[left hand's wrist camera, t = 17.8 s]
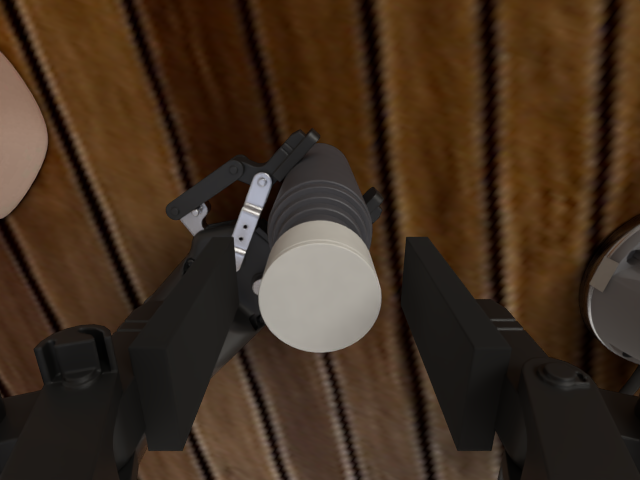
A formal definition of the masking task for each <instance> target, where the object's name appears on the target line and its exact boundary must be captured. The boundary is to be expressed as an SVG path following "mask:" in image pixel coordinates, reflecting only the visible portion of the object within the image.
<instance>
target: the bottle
mask: <svg viewBox="0 0 640 480" xmlns="http://www.w3.org/2000/svg"><path fill="white" fill-rule="evenodd" d="M309 221H330V222H335V223H338V224H341V225H343V226H345V227H347V228H349V229H350V230H352V231H353V232H354V233H356V234H357V235H358V236H359V237H360V238H361V239H362V241H363V242H364V243H365V245H366V247H367V248H368V250H369V249H370V245H371V239H372V221H371V217H370V213H369V211H368V208H367V206H366V204H365V201H364V199H363V196H362V194H361V192H360V189H359V187H358V185H357V182H356V180H355V178H354V175H353V173H352V171H351V168H350V166H349V163H348V161H347V159H346V157H345V156H344V155H343V153H342V152H341V151H339V150H338V149H337V148H335V147H333V146H331V145H328V144H323V143H316V144H314V145H313V146H312V148H311V149H310V150H309V151H308V152H307V153H306V154H305V155H304V156H303V158H302V159H301V160H300V161H299V162H298V163H297V164H296V165H295V166H294V167H293V168H292V169H291V171H290V172H289V173H288V174H287V175H286V177H285V179H284V181H283V184H282V186H281V189H280V191H279V193H278V196H277V198H276V200H275V203H274V205H273V207H272V210H271V212H270V215H269V219H268V225H267V233H268V242H269V247H270V250H272V247H273V246H274V244H275V243H276V241H277V240H278V239H279V238H280V237H281V236H282V235H283V234H284V233H285V232H286V231H288V230H289V229H291V228H293V227H294V226H296V225H299V224H302V223H305V222H309Z"/></svg>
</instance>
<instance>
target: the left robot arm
mask: <svg viewBox="0 0 640 480" xmlns="http://www.w3.org/2000/svg"><path fill="white" fill-rule="evenodd" d="M579 304H580V311H581V315H582V318H583V320H584V323H585V325H586V326H587V328H588V329H589V331H590V332H591V333H592V334H593V335H594V336H595V337H596V338H597V339H598V340H599V341H600V342H601V343H603V344H604V345H605V346H606V347H607V348H608V349H609V350H611V351H612V352H614V353H615V354H617V355H619V356H621V357H623V358H625V359H627V360H629V361H631V362H634V363H636V364H639V366H638V367H637V369H636V370H635V372H634V373H633V374H632V376H631V377H630V379H629V380H628V382H627V383H626V384H625V385H624V386H623V388H622V389H621V390H620V391H619V392H613V391H608V390H604V389H600V388H598V387H597V385H596V384H595V382H594V381H593V380H592V379H591V377H590V376H589V375H588V374H586V373H585V372H584V371H582V370H581V369H579V368H578V367H576V366H574V365H572V364H569V363H567V362H565V361H562V360H558V359H554V358H549V357H548V356H547V355H546V354H545V352H544V351H543V350H542V349H541V348H540V347H539V346H538V344H537V343H536V342H535V341H534V340H533V339H532V338H531V336H530V335H529V334H528V333H527V332H526V331H525V330H523V327H522V326H521V325H520V324H519V323H518V322H517V321H515V318H514V317H513V316H512V315H511V314H510V312H509V311H508V310H507V309H506V308H504V307H503V306H501V305H499V304H498V303H496V302H494V301H493V300H491V299H474V298H473V296H472V295H471V294H470V292H469V291H468V290H467V288H466V287H465V286H464V284H463V283H462V282H461V280H460V279H459V278H458V277H457V275H456V274H455V273H454V271H453V270H452V269H451V267H450V266H449V265H448V263H447V262H446V261H445V259H444V258H443V257H442V255H441V254H440V253H439V252H438V250H437V249H436V248H435V246H434V245H433V244H432V242H431V241H430V240H429V238H428V237H406V246H405V259H404V271H403V283H402V296H401V306H402V309H403V311H404V314H405V316H406V319H407V322H408V324H409V327H410V329H411V332H412V334H413V337H414V340H415V342H416V345H417V347H418V350H419V353H420V355H421V358H422V360H423V363H424V365H425V368H426V371H427V373H428V376H429V378H430V381H431V383H432V386H433V389H434V391H435V394H436V396H437V399H438V402H439V404H440V407H441V409H442V412H443V414H444V417H445V420H446V422H447V425H448V427H449V430H450V433H451V435H452V438H453V440H454V443H455V445H456V448H457V451H491V450H492V445H493V440H494V435H495V430H496V432H497V434H498V436H499V438H500V440H501V442H502V443H503V445H504V447H505V448H504V453H503V457H502V462H501V467H500V471H499V476H498V480H640V394H639V397H637V396H633V395H634V393H635V392H636V391H637V390H638V389H639V387H640V215H638V216H636V217H635V218H633V219H631V220H630V221H628V222H627V223H625V224H624V225H623V226H621V227H620V228H619V229H617V230H616V231H615V232H614V233H613V234H612V235H611V236H610V237H609V238H608V239H607V240H606V241H605V242H604V243H603V244H602V245H601V246H600V248H599V249H598V250H597V252H596V253H595V254H594V256H593V258H592V259H591V261H590V262H589V264H588V267H587V269H586V271H585V273H584V276H583V279H582V283H581V287H580V294H579ZM238 306H239V296H238V283H237V271H236V259H235V246H234V237H212V238H211V240H210V241H209V242H208V244H207V245H206V246H205V248H204V249H203V250H202V252H201V253H200V254H199V255H198V257H197V258H196V259H195V261H194V262H193V263H192V265H191V266H190V267H189V269H188V270H187V271H186V273H185V274H184V275H183V276H182V278H181V279H180V280H179V282H178V283H177V284H176V286H175V287H174V288H173V290H172V291H171V292H170V294H169V295H168V296H167V298H166V299H165V300H164V301H148V302H146V303H145V304H143V305H141V306H140V307H138V308H136V309H135V310H134V311H133V312H132V313H131V314H130V315H129V316H128V317H127V319H126V320H125V323H122V324H121V326H120V327H119V328H118V329H117V332H114V334H113V335H112V336H111V332H110V330H109V329H107V328H106V327H105V326H100V325H95V324H92V325H80V326H75V327H71V328H67V329H64V330H62V331H59V332H57V333H54V334H52V335H50V336H49V337H47V338H46V339H44V340H42V341H41V342H40V343H39V344H38V345H37V346H36V347H35V348H34V352H35V356H36V359H37V362H38V366H39V369H40V372H41V376H42V379H43V382H44V386H43V388H42V390H39V391H36V392H31V393H26V394H21V395H16V396H11V397H7V398H2V397H1V394H0V480H137V474H138V466H139V465H138V458H137V453H136V447H137V446H138V444H139V442H140V440H141V438H142V436H143V434H144V432H145V435H146V440H147V445H148V450H149V451H183V448H184V445H185V443H186V440H187V438H188V435H189V433H190V430H191V427H192V425H193V422H194V420H195V417H196V414H197V412H198V409H199V407H200V404H201V402H202V399H203V396H204V394H205V391H206V389H207V386H208V383H209V381H210V378H211V376H212V373H213V371H214V368H215V365H216V363H217V360H218V358H219V355H220V353H221V350H222V347H223V345H224V342H225V340H226V337H227V334H228V332H229V329H230V327H231V324H232V322H233V319H234V316H235V314H236V311H237V309H238Z"/></svg>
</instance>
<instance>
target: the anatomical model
mask: <svg viewBox="0 0 640 480" xmlns="http://www.w3.org/2000/svg"><path fill="white" fill-rule="evenodd" d="M47 146H48V134H47V128H46V124H45V121H44V118H43V116H42V113H41V111H40V109H39V106H38V104H37V103H36V101H35V99H34V97H33V95H32V93H31V92H30V90H29V89H28V87H27V86H26V84H25V82H24V81H23V79H22V78H21V77H20V75H19V74H18V72H17V71H16V70H15V68H14V67H13V66H12V64H11V63H10V62H9V61H8V59H7V58H6V57H5V56H4V55H3V54H2V53H1V52H0V219H1V218H4V217H5V216H7V215H8V214H9V213H10V212H11V211H12V210H13V209H14V208H15V207H16V206H17V205H18V204H19V202H20V201H21V200H22V198H23V197H24V196H25V194H26V193H27V191H28V190H29V188H30V186H31V185H32V183H33V181H34V180H35V178H36V176H37V174H38V172H39V170H40V168H41V166H42V163H43V161H44V158H45V155H46V151H47Z"/></svg>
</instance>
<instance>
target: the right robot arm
mask: <svg viewBox="0 0 640 480" xmlns="http://www.w3.org/2000/svg"><path fill="white" fill-rule="evenodd" d="M319 138H320V135H319V134H318V133H317V132H316V131H315V130H314V129H313V128H312V129H311V130H310V131H309V132H308V133H307V134H305V133H304V132H303V131H302V130H301V129H300V130H298V131H296V132H294V133H292V135H291V136H290V137H289V138H288V139H287V140H286V141H285V143H284V144H283V145H282V146H281V147H280V148H279V149H278V151H277V152H276V153H275V154H274V155H273V156H272V157H271V159H270V160H269V161H267V162H266V163H256V162H254V161H251V160H249V159H248V158H247V157H246V156H244V155H237V156H235V157H234V158H232V159H231V160H229V161H228V162H227V163H225V164H224V165H222V166H221V167H220V168H218V169H217V170H215V171H214V172H213V173H211V174H210V175H208V176H207V177H206V178H204V179H203V180H201V181H200V182H199V183H197V184H196V185H194V186H193V187H192V188H190V189H189V190H187V191H186V192H185V193H183V194H182V195H180V196H179V197H178V198H176V199H175V200H173V201H172V202H171V203H169V204H168V205H167V207H166V213H167V215H168V217H169V218H171V219H173V220H181V221H182V223H183V224H184V225H185V226H186V228H187V229H188V230H189V231H190V232H191V234H192V235H193V236H194V238H193V240H192V246H191V250H190V252H189V254H188V255H187V256H186V257H185V258H184V259H183V260H182V262H181V263H180V264H179V265H178V266H177V267H176V268H175V270H174V271H173V272H172V273H171V274H170V275H169V276H168V278H167V279H166V280H165V281H164V282H163V283H162V284H161V285H160V287H159V288H158V289H157V290H156V291H155V293H153V295H151V296H150V297H149V298H148V299H147V300H146V301H145V302H144V304H145V303H146V302H148V301H164V300H165V299H166V298H167V296H168V295H169V294H170V292H171V291H172V290H173V288H174V287H175V286H176V284H177V283H178V282H179V280H180V279H181V278H182V276H183V275H184V274H185V273H186V271H187V270H188V269H189V267H190V266H191V265H192V263H193V262H194V261H195V259H196V258H197V257H198V255H199V254H200V253H201V252H202V250H203V249H204V248H205V246H206V245H207V244H208V242H209V241H210V240H211V238H212V237H234V246H235V259H236V271H237V283H238V296H239V306H238V309H237V311H236V314H235V316H234V319H233V322H232V324H231V327H230V329H229V332H228V334H227V337H226V340H225V342H224V345H223V347H222V350H221V353H220V355H219V358H218V360H217V363H216V365H215V368H214V371H213V373H212V376H211V378H212V377H213V376H214V375H215V374H216V373H217V372H218V371H219V370H220V369H221V368H222V367H223V366H224V365H225V364H226V363H227V362H228V361H229V360H230V359H231V358H232V357H233V356H234V355H235V354H236V353H237V352H238V351H239V350H240V349H241V348H242V347H243V346H244V345H245V344H246V343H248V342H249V341H250V340H251V339H252V338H253V337H254V336H255V335H256V334H257V333H258V332H259V331H260V330H261V329H262V328H263V327H264V326H265V325H266V323H265V322H264V320H263V318H262V315H261V312H260V309H259V303H258V293H259V287H260V283H261V279H262V276H263V273H264V270H265V267H266V264H267V261H268V257H269V254H270V252H271V250H270V247H269V242H268V233H267V225H268V222H267V221H266V220H264V219H263V218H262V219H261V220H260V218H261V216H262V213H263V210H264V208H265V205H266V202H267V199H268V196H269V194H270V191H271V188H272V186H273V185H274V184H275V183H276V181H277V180H278V181H279V182H281V181H282V180H283V179H284V177H285V176H286V175H287V174H288V173H289V172H290V171H291V169H292V168H293V167H294V166H295V165H296V164H297V163H298V162H299V161H300V160H301V159H302V158H303V156H304V155H305V154H306V153H307V152H308V151H309V150H310V149H311V148H312V146H313V145H314V144H315V143H316V142H317V141H318V140H319ZM236 180H239V181H242V182H244V183H247V184H249V185H251V186H250V188H249V191H248V194H247V197H246V200H245V202H244V205H243V207H242V209H241V212H240V215H239V217H238V219H236V220H230V221H225V222H220V223H215V224H210V225H207V223H206V221H205V218H206V215H207V214H208V213H209V212H210V210H211V204H210V202H209V201H208V200H209V199H210V198H212V197H213V196H214V195H216V194H217V193H219V192H220V191H222V190H223V189H224V188H226V187H227V186H229V185H230V184H232V183H233V182H235V181H236ZM363 199H364V201H365V204H366V206H367V208H368V211H369V213H370V217H371V221H372V224H373V223H374V222H375V221H376V220H377V219H378V218H379V216H380V214H381V212H382V209H381V207H380V204H381V203H382V201H383V199H384V198H383V197H382V195H381V194H380V193H379V192H378V191H377V190H376V189H375V188H374V187H372V188H370V189H369V190H368V191H367V192H366V193H365V194H364V195H363ZM211 378H210V379H211ZM147 447H148V445H147V440H146V435H145V432H144V434H143V436H142V438H141V440H140V442H139V444H138V446H137V447H136V453H137V458H138V465H139V463H140V461H141V459H142V457H143V455H144V453H145V451H146V449H147Z"/></svg>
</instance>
